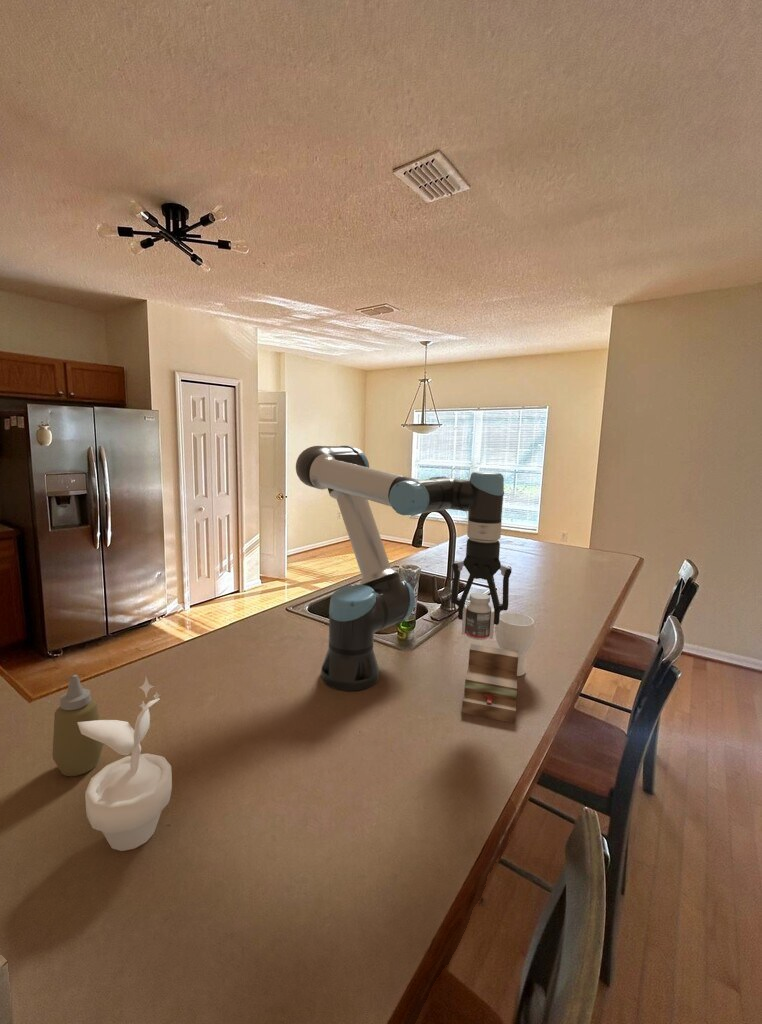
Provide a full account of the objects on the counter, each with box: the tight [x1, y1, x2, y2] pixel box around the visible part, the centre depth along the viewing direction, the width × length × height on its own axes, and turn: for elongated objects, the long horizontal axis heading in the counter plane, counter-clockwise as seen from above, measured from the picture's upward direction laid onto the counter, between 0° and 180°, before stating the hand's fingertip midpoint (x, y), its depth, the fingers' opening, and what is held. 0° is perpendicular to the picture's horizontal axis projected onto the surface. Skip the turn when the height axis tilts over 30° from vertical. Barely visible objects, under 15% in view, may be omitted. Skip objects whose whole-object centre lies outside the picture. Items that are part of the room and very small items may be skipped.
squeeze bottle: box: [52, 674, 105, 777], centre depth 84 cm, size 8×8×18 cm
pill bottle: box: [465, 592, 492, 641], centre depth 109 cm, size 6×6×10 cm
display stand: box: [461, 643, 518, 724], centre depth 113 cm, size 12×16×10 cm
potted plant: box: [77, 676, 173, 852], centre depth 70 cm, size 13×12×25 cm
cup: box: [494, 611, 536, 677], centre depth 128 cm, size 11×11×15 cm
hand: (477, 634), depth 110 cm, fingers closed on pill bottle, 6 cm apart
